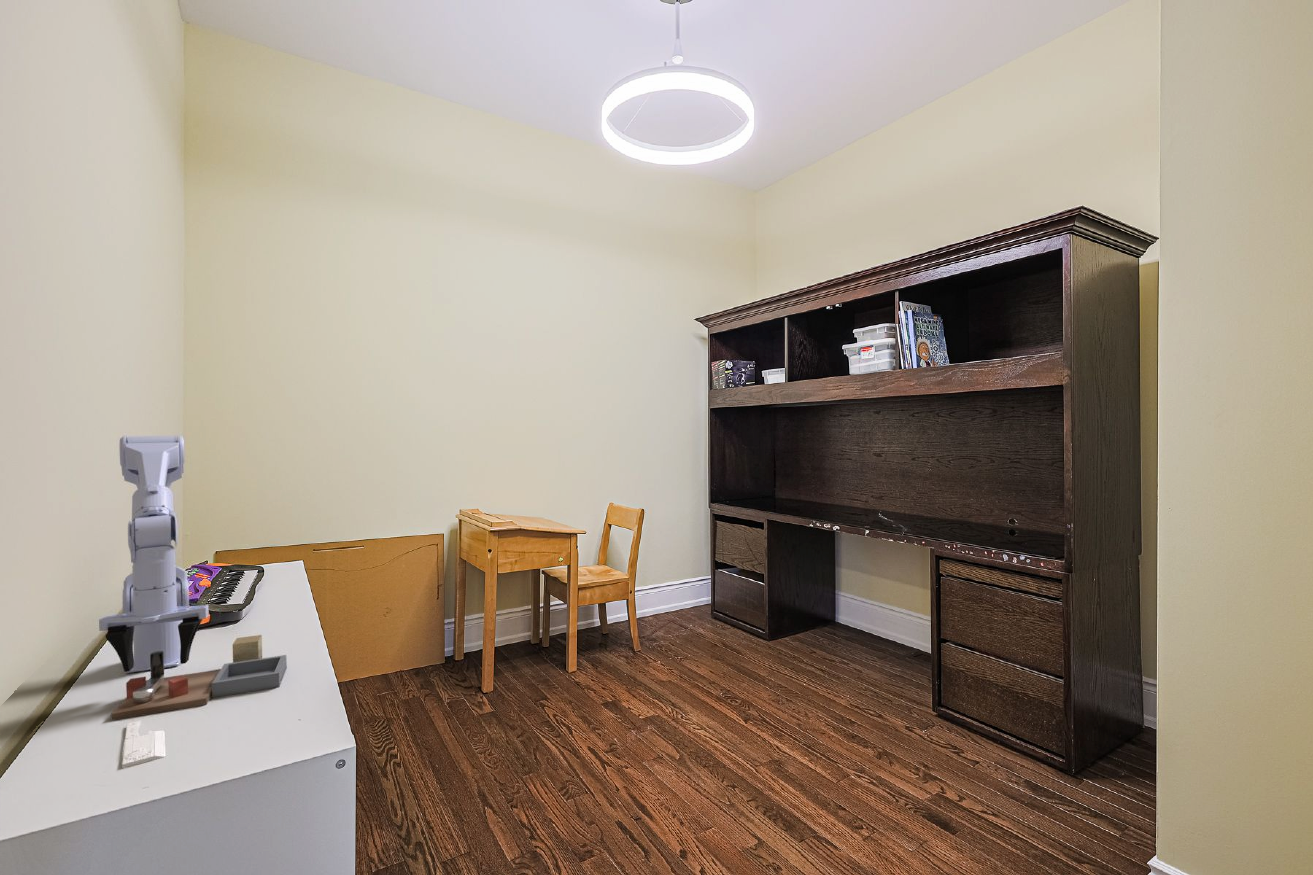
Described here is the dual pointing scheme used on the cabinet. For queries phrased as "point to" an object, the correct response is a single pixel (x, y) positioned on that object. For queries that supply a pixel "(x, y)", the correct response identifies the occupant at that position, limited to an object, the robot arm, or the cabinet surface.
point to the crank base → (168, 694)
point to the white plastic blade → (142, 745)
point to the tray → (249, 676)
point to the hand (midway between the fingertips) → (157, 665)
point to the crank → (151, 679)
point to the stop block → (247, 648)
